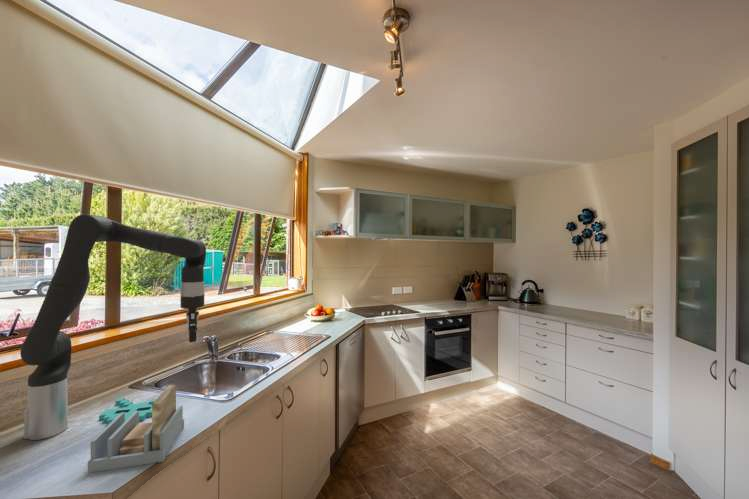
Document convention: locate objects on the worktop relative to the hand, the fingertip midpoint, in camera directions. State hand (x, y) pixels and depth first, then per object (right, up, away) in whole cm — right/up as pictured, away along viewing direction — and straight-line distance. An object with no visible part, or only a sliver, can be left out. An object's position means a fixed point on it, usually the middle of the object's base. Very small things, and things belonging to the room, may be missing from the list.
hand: (192, 338), depth 114 cm
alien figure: (-24, -30, +4) cm, 38 cm away
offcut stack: (-6, -29, -17) cm, 34 cm away
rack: (-6, -29, -17) cm, 34 cm away
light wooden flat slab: (0, -29, -15) cm, 33 cm away
